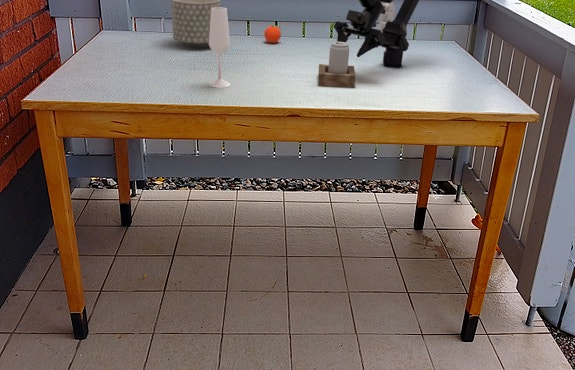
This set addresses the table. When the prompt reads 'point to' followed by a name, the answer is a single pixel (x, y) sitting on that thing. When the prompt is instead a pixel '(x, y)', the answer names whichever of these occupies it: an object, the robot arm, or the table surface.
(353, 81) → the socket block
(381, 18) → the plastic bottle
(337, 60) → the beverage can
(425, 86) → the table surface
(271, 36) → the clementine
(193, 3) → the planter
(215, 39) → the champagne flute
